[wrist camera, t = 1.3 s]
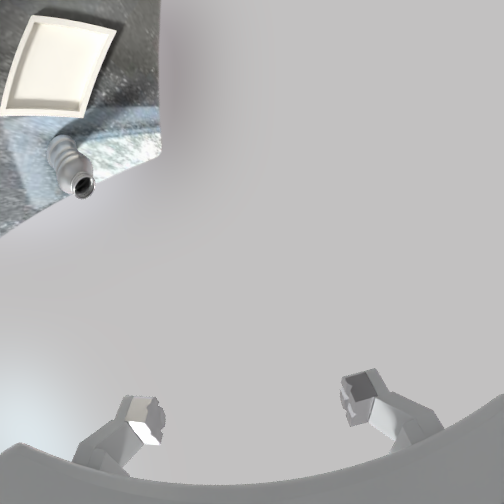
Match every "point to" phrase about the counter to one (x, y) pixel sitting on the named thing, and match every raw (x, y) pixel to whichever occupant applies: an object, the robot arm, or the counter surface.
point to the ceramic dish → (55, 68)
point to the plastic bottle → (71, 167)
